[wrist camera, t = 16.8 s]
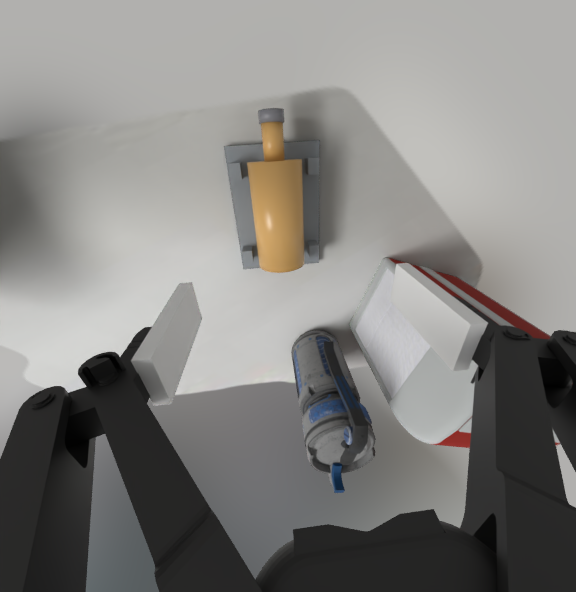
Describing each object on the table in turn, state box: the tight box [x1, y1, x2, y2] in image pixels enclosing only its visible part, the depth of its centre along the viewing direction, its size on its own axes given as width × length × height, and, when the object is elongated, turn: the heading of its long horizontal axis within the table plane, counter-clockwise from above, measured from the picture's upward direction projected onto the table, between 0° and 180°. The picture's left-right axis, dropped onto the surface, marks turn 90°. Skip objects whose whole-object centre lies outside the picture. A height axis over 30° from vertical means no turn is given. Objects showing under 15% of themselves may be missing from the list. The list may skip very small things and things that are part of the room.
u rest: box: [224, 140, 320, 269], centre depth 37 cm, size 18×13×4 cm
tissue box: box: [349, 258, 573, 449], centre depth 39 cm, size 16×18×27 cm
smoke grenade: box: [292, 330, 375, 493], centre depth 43 cm, size 10×13×25 cm
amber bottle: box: [247, 108, 304, 273], centre depth 34 cm, size 19×7×7 cm, turn 3°
